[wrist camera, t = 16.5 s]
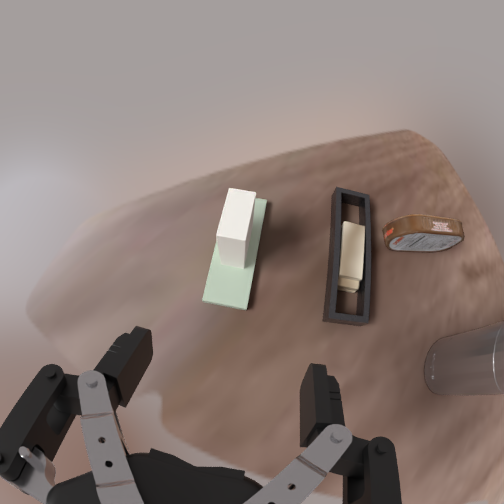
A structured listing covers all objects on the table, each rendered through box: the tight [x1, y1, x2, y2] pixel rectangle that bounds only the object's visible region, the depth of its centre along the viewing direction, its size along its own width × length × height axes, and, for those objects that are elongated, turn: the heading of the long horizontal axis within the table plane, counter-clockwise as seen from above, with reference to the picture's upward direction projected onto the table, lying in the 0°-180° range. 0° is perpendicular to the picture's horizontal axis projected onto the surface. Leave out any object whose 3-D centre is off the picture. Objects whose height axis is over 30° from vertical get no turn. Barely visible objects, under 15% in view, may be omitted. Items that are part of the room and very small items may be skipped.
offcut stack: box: [337, 221, 365, 293], centre depth 37 cm, size 3×10×3 cm, turn 167°
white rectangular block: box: [216, 188, 256, 269], centre depth 33 cm, size 3×6×8 cm, turn 169°
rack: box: [323, 187, 371, 326], centre depth 37 cm, size 6×20×2 cm, turn 170°
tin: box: [382, 214, 464, 252], centre depth 36 cm, size 15×3×8 cm, turn 89°
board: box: [202, 198, 267, 310], centre depth 37 cm, size 6×16×1 cm, turn 170°
